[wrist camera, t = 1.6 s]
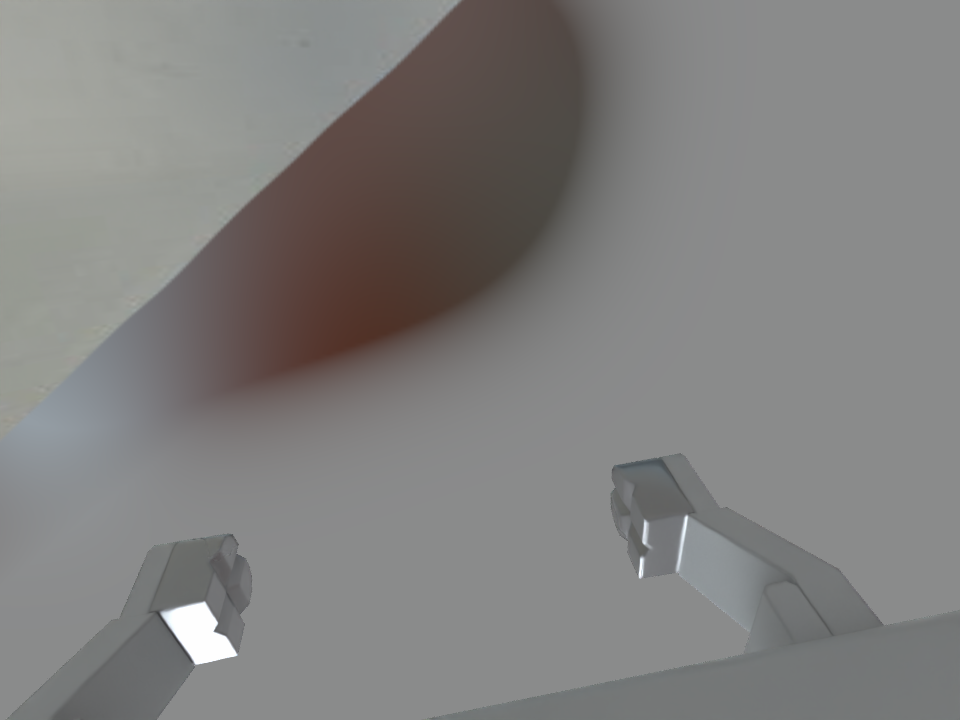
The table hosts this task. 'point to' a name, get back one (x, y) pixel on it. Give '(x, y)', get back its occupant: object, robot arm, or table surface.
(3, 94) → the table surface
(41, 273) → the table surface
